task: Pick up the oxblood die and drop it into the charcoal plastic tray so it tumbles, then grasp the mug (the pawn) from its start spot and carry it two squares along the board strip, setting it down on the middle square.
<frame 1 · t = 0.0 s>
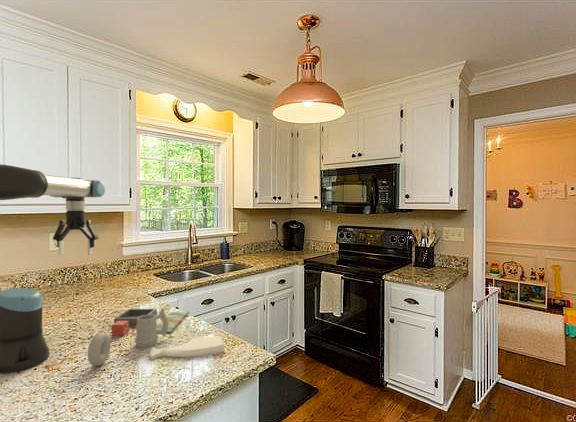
hand: (76, 254, 154), 28 cm above the counter, fingers open, 13 cm apart
mug: (152, 342, 121), on the counter
tray: (136, 320, 143), on the counter
donut: (99, 365, 103), on the counter
die: (120, 334, 128), on the counter
board: (171, 322, 141), on the counter
beige tapered paddle: (187, 353, 113), on the counter
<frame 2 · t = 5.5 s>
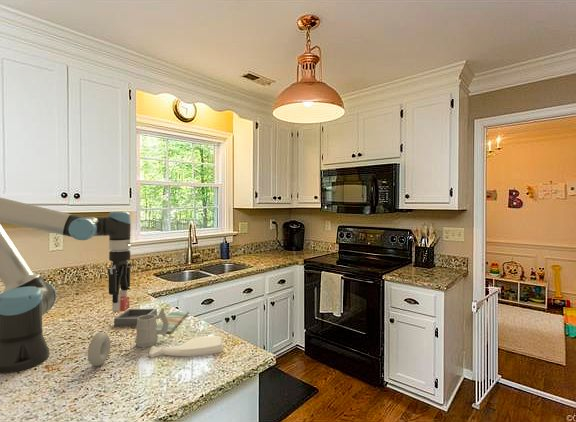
hand: (119, 308, 128), 10 cm above the counter, fingers closed on die, 5 cm apart
die: (121, 309, 128), point 10 cm above the counter, touching gripper
when the fingers open (7 cm above the counter, at t = 6.7 s): die drops 6 cm, resting on tray.
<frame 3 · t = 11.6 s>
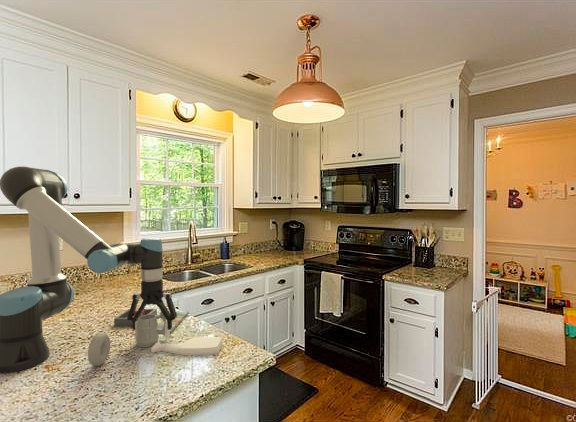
hand: (152, 337, 121), 1 cm above the counter, fingers open, 10 cm apart
mug: (153, 342, 121), on the counter, touching gripper, beige tapered paddle
die: (136, 319, 143), point 1 cm above the counter, touching tray
beige tapered paddle: (186, 350, 115), on the counter, touching gripper, mug
everything else where it was.
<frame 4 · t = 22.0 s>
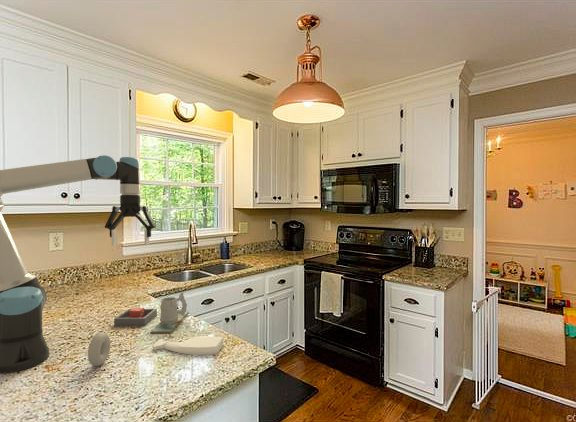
hand: (130, 245, 135), 35 cm above the counter, fingers open, 13 cm apart
mug: (173, 320, 141), point 1 cm above the counter, touching board
beige tapered paddle: (187, 349, 116), on the counter
everything else where it was.
at the end: mug inside the target area (1.1 cm from its centre), point 0.6 cm above the counter; mug tilted 0°; die inside the target area on the tray (0.6 cm from its centre), point 0.6 cm above the tray's base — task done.
